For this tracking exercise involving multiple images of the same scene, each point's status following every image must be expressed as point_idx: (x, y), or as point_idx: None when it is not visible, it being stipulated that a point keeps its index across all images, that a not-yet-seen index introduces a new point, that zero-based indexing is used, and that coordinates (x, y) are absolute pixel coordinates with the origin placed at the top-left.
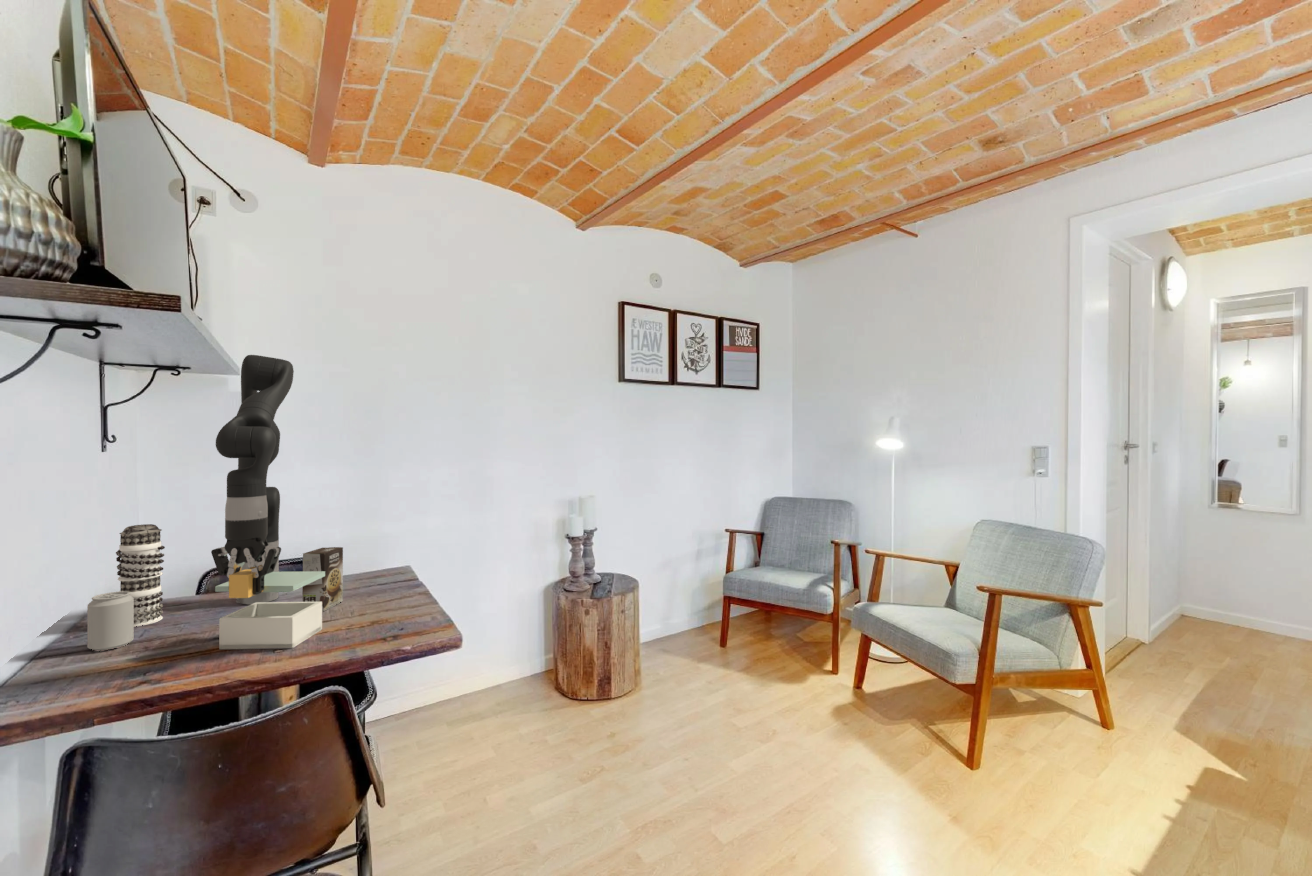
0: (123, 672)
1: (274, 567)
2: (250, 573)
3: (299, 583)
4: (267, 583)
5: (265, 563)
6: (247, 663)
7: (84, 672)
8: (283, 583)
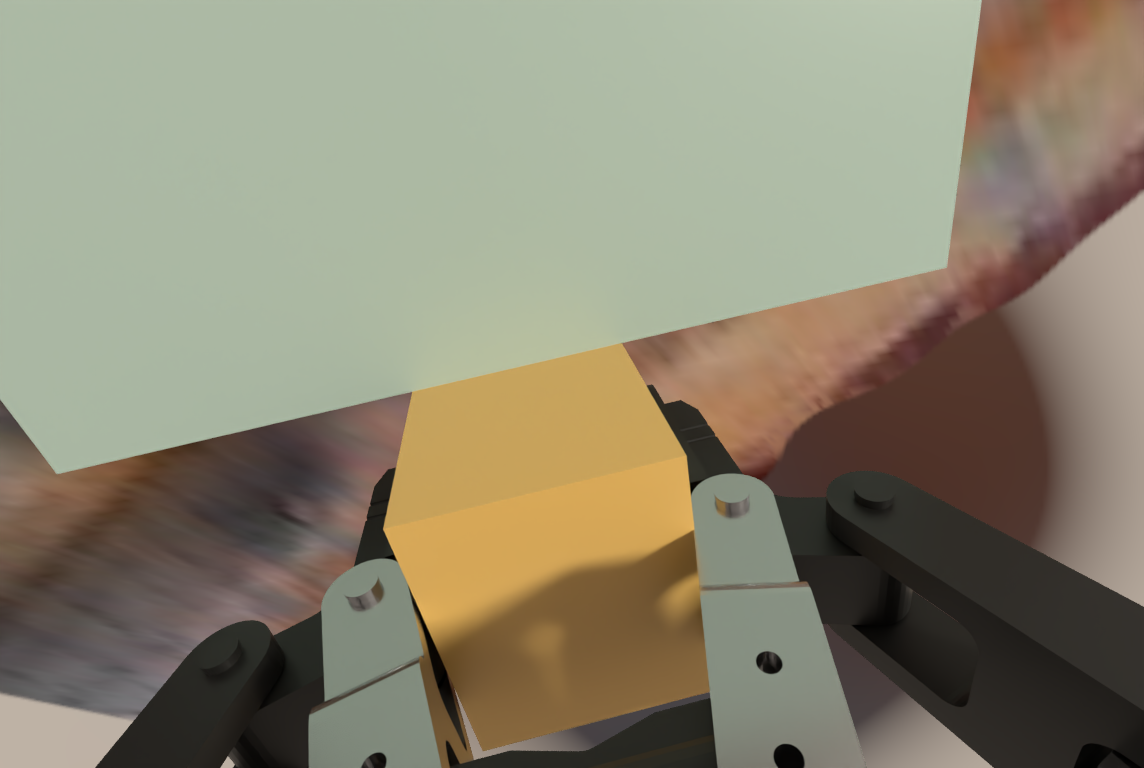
0: (178, 527)
1: (954, 520)
2: (684, 648)
3: (960, 140)
4: (578, 240)
5: (971, 728)
6: None
7: (8, 561)
8: (780, 200)
